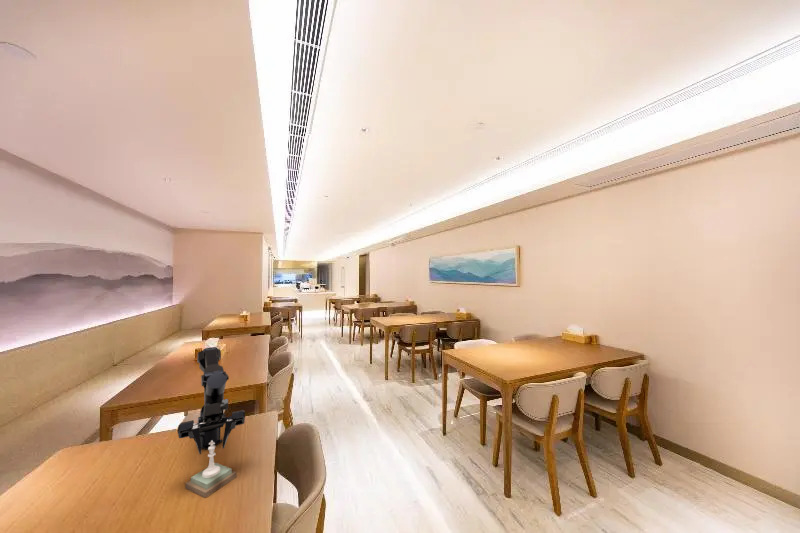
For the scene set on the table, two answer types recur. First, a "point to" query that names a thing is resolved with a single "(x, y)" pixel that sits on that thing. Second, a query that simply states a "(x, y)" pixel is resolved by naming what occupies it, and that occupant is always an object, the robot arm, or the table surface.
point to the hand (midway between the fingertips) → (211, 450)
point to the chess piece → (211, 463)
